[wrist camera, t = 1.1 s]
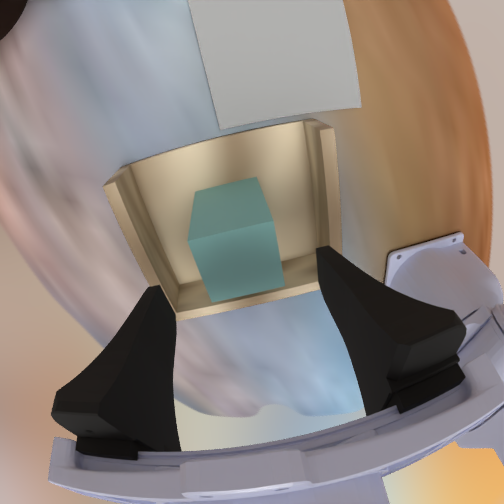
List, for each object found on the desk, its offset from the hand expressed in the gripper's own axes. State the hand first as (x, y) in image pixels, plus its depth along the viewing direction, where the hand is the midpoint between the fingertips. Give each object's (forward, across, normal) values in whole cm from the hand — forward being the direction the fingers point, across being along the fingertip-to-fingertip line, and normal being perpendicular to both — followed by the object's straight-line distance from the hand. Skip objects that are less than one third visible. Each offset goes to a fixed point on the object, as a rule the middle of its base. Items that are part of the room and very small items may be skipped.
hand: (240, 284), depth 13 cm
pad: (+8, -5, -10) cm, 14 cm away
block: (+7, 0, 0) cm, 7 cm away
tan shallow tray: (+8, 0, 0) cm, 8 cm away
